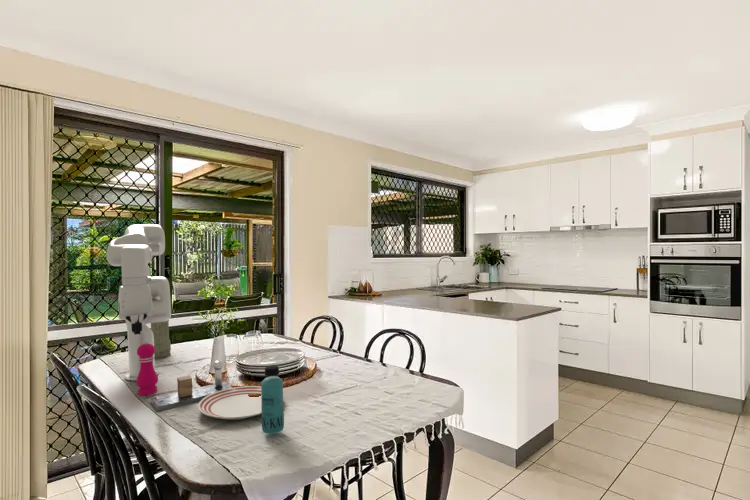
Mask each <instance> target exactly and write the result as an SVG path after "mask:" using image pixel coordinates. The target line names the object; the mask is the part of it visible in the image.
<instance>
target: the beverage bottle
mask: <svg viewBox="0 0 750 500" xmlns="http://www.w3.org/2000/svg"><path fill="white" fill-rule="evenodd" d="M279 369H280V368H279V366H278V365H268V366H265V368H264V376H266V377H265V378H264V379H263V380H262V381H261V382H260V386H261V395H262V396H261V403H262V404H261V405H262V411H261V413H262V414H261V421H260V422H261V430H262V432H263V434H267V435H273V434H277V433H280V432H282V431H283V430H284V428H285V409H284V408H285V406H284V380H283V379H282V378H280V377H279V376H278V375H280V370H279Z"/></svg>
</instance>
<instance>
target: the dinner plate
mask: <svg viewBox="0 0 750 500" xmlns="http://www.w3.org/2000/svg"><path fill="white" fill-rule="evenodd" d="M248 394H261V385H259V386H258V385H257V386H256V385H245V386H237V387H236V386H235V387H233V388H230V389H225V390H221V391H218V392H215V393H212V394H210V395H208V396H206V397H205V398H203V399H202V400H201V401H198V402H199V403H198V404H197V408H198V411H199V412H200V413H202V414H203V415H205V416H207V417H210V418H214V419H215V418H216V419H221V420H228V421H229V420H230V421H231V420H233V421H235V420H243V419H244V420H245V419H249V418H253V417H256V416H260V415H262V413H261V411H262V405H261V404H262V403H261V396H262V395H261V396H259V397H249V396H248Z"/></svg>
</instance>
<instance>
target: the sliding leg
mask: <svg viewBox="0 0 750 500" xmlns="http://www.w3.org/2000/svg"><path fill="white" fill-rule="evenodd" d="M176 381H177V383H176V384H177V392H178V395H179V396H180V397H185V396H189V395H193V391H192V389H193V378H192V377H191V376H190V375H184V376H180V377H177V380H176Z"/></svg>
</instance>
